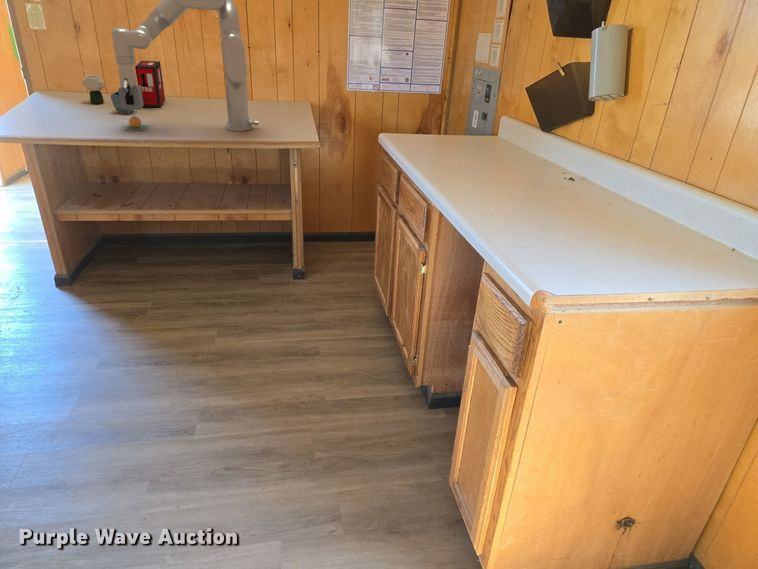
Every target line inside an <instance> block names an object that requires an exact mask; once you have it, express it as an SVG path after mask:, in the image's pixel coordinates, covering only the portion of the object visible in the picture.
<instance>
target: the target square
mask: <svg viewBox="0 0 758 569" xmlns="http://www.w3.org/2000/svg"><path fill="white" fill-rule="evenodd" d="M149 127H150V124H141V126H140V127H138V128H133V127H132V126H131V125H130V124H129V123H128V124H127V125H126V126H125V128H124V129H123V130H124V131H130V130H142V131H141V132H144V131H145V132H146V130H148V128H149Z"/></svg>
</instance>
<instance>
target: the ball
mask: <svg viewBox="0 0 758 569" xmlns="http://www.w3.org/2000/svg"><path fill="white" fill-rule="evenodd" d="M128 122H129V123H128V124H130V125H131V126H132V127H133V128H138V127H140V126H141V125H142V121H141V119H140V118H139V117H137V116H131V117H130V118H129V120H128Z"/></svg>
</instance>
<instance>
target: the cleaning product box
mask: <svg viewBox="0 0 758 569" xmlns="http://www.w3.org/2000/svg"><path fill="white" fill-rule="evenodd" d="M161 66H162V65H161V61H155V60H141V61H139V63H137V64H135V66H134V69H135V75H136V82H137V85H141V90H142V97H143V104H144V106H143V107H142V109H148V108H160V109H161V108H162V107H163V105H164V104H165V102H166V95H165V89H164V81H163V75H162V74H163V73H162V68H161ZM164 101H165V102H164ZM163 103H164V104H163ZM161 106H162V107H161Z"/></svg>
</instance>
